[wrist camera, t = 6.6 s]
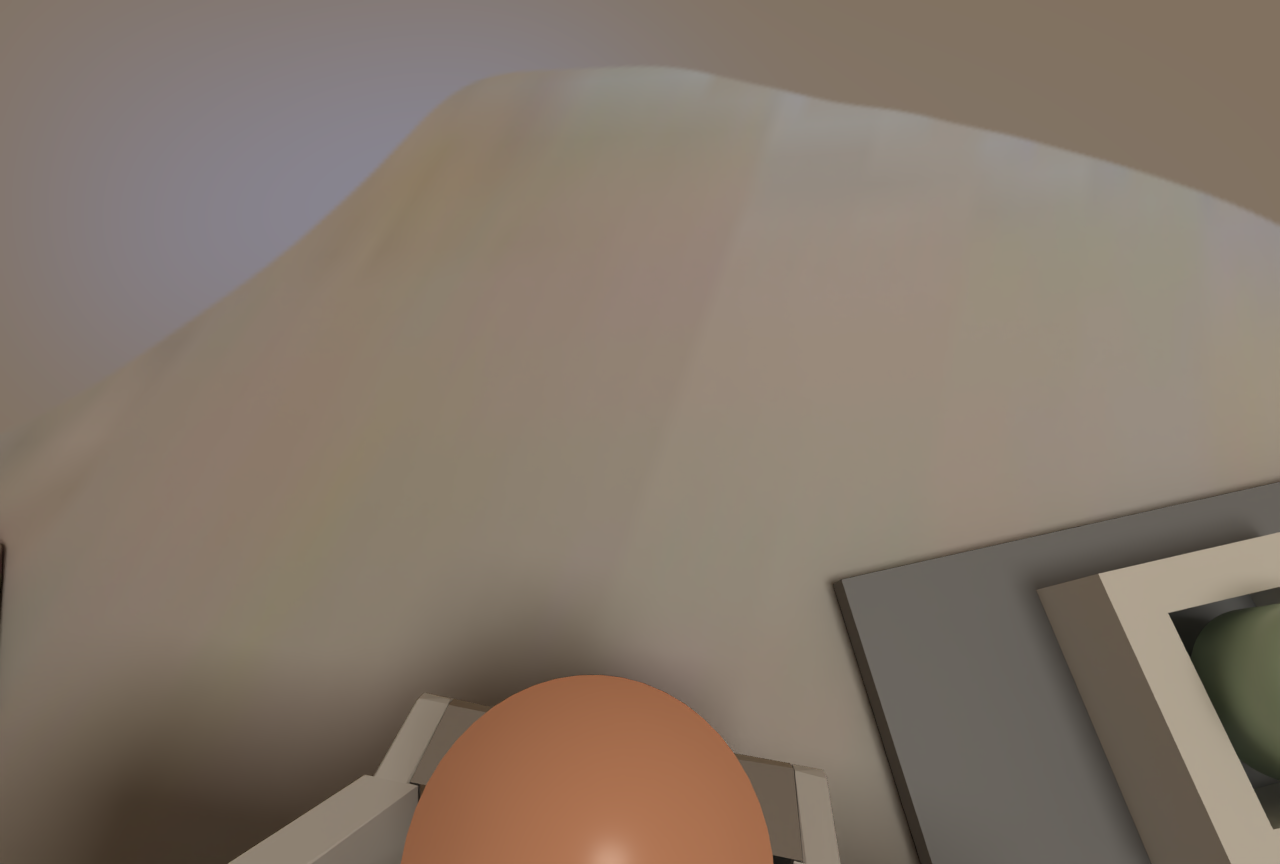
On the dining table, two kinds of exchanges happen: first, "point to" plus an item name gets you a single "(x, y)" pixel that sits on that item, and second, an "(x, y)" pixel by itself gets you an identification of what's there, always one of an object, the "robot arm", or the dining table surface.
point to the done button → (1245, 681)
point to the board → (1072, 690)
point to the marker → (589, 784)
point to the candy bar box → (0, 562)
